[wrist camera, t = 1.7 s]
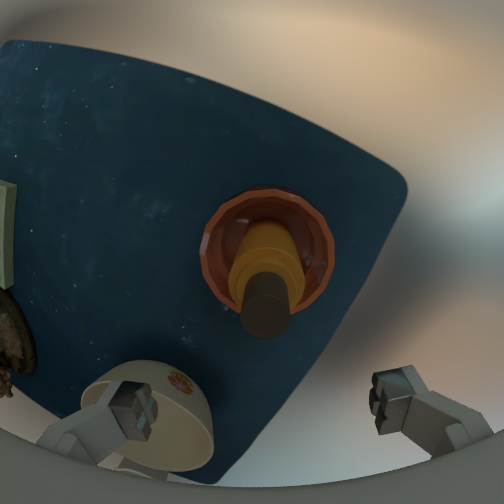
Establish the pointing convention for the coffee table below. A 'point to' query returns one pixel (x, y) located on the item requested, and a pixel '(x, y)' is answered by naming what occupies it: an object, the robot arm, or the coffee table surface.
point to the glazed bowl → (275, 206)
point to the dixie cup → (141, 470)
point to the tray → (7, 232)
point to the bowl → (165, 417)
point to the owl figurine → (13, 343)
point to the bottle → (266, 278)
